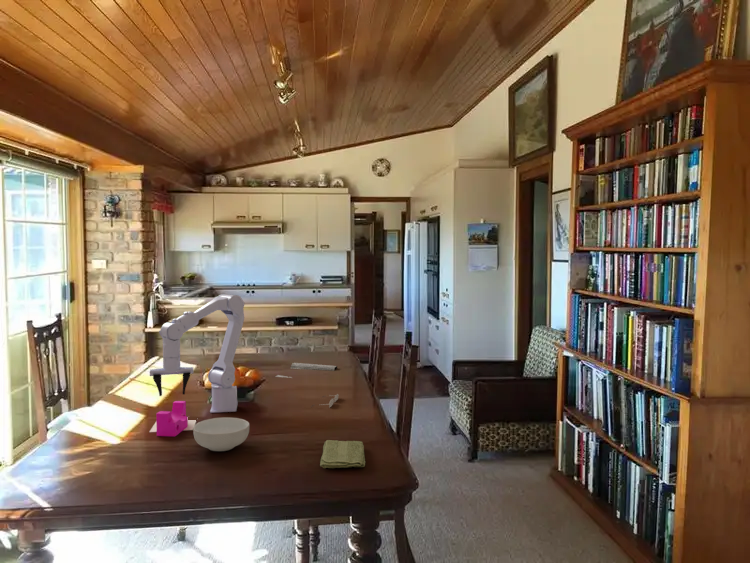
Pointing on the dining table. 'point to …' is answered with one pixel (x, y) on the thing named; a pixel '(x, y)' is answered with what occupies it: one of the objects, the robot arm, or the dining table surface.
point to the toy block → (172, 420)
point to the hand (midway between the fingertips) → (172, 394)
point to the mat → (310, 367)
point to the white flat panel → (190, 427)
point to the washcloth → (342, 454)
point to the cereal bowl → (221, 433)
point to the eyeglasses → (331, 400)
